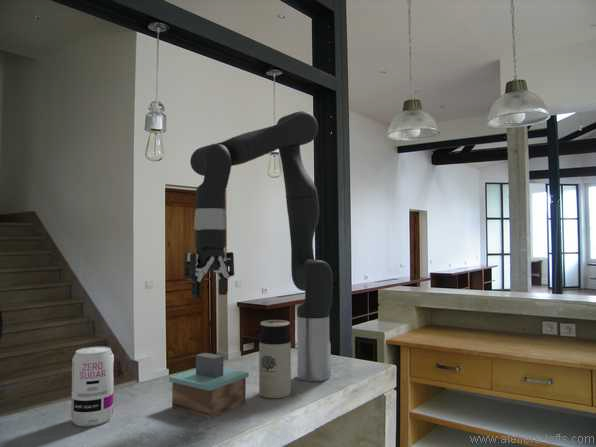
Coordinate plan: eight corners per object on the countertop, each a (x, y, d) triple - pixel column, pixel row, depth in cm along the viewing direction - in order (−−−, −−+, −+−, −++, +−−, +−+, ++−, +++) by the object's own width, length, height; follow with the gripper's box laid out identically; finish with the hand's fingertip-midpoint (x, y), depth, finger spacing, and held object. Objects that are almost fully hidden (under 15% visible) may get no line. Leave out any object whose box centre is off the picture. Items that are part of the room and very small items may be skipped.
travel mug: (274, 387, 124) (274, 318, 125) (297, 393, 119) (297, 321, 120) (252, 394, 118) (252, 322, 119) (276, 401, 113) (275, 325, 114)
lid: (209, 373, 120) (209, 347, 120) (248, 381, 112) (248, 353, 113) (169, 386, 109) (169, 357, 109) (209, 396, 102) (209, 365, 102)
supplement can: (100, 410, 107) (101, 344, 107) (120, 419, 102) (121, 349, 102) (64, 421, 101) (65, 350, 101) (82, 430, 95) (84, 356, 96)
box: (209, 393, 119) (209, 369, 119) (245, 402, 112) (245, 377, 112) (172, 407, 109) (172, 381, 109) (209, 417, 102) (209, 389, 102)
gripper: (219, 229, 120) (219, 293, 120) (176, 227, 109) (176, 298, 108) (242, 228, 116) (242, 294, 115) (199, 227, 104) (199, 300, 104)
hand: (210, 296), depth 112 cm, fingers open, 8 cm apart
